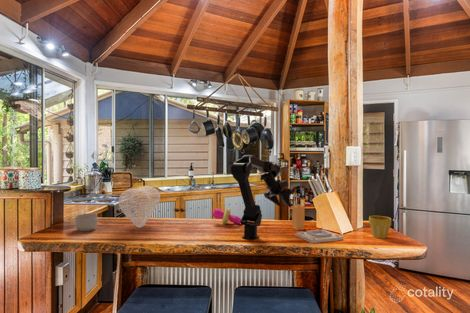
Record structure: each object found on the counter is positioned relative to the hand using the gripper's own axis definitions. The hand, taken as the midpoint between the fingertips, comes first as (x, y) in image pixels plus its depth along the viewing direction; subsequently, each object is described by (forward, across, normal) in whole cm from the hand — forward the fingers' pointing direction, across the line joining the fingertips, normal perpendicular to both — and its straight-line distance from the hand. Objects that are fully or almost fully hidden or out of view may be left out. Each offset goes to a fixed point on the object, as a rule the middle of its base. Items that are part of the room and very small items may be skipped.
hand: (284, 206), depth 171 cm
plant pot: (+32, -32, -20) cm, 50 cm away
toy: (-4, +26, +25) cm, 36 cm away
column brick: (+15, -1, 0) cm, 15 cm away
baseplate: (+15, -20, +4) cm, 25 cm away
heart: (-30, +38, +64) cm, 80 cm away
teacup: (-44, +47, +86) cm, 107 cm away
